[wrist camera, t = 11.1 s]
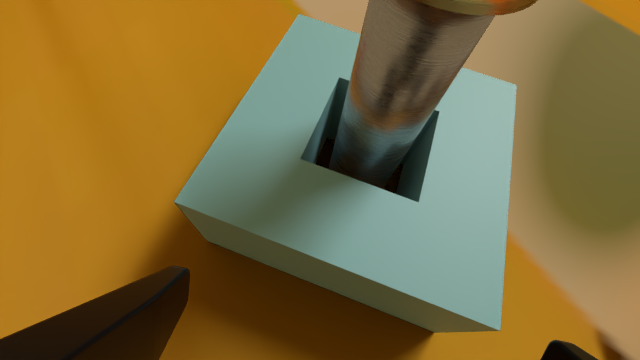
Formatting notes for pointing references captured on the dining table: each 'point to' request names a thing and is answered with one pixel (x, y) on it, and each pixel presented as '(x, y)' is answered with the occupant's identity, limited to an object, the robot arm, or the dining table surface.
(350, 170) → the pin
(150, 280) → the robot arm
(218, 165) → the block
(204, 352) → the dining table surface
